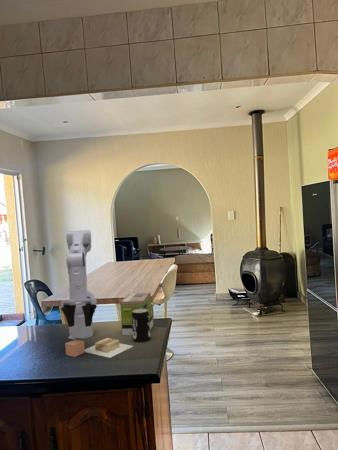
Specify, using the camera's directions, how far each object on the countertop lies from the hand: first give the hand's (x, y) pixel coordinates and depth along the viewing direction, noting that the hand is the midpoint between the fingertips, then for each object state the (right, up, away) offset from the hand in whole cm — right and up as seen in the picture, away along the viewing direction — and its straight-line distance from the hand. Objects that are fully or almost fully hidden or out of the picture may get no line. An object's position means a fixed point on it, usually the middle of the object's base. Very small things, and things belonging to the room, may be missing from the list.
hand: (79, 326), depth 127 cm
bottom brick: (+9, -9, +3) cm, 13 cm away
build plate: (+9, -10, +3) cm, 14 cm away
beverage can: (+21, -9, +11) cm, 25 cm away
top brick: (-1, -11, 0) cm, 11 cm away
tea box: (+18, -9, +24) cm, 31 cm away
